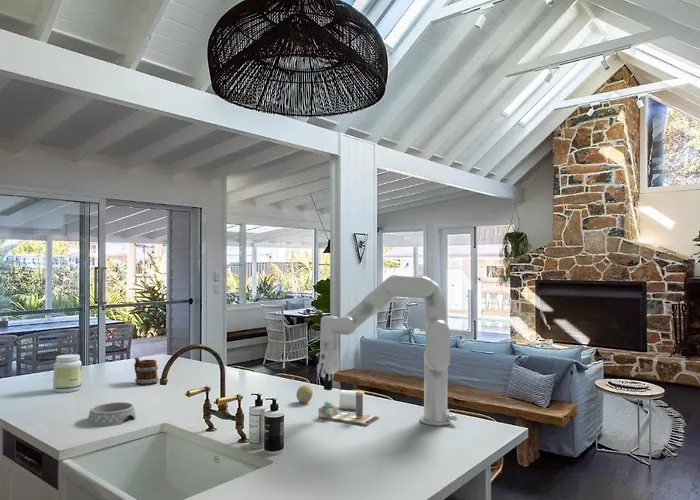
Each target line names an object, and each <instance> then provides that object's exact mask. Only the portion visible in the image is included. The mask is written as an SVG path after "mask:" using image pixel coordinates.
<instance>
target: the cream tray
mask: <svg viewBox="0 0 700 500" xmlns="http://www.w3.org/2000/svg"><path fill="white" fill-rule="evenodd" d="M317 413H318V416H317V417H318V419H320V420H326V421H333V422H339V423H344V424H350V425H355V426H363V427H367V426H369V425H371V424H372V423H375V421H377V420H379V419H380V417H379V416H377V415H373V414H372V415H371V414H364V413H363V416H362V419H357V418H356V412H353V411H352V412H351V411H344V410H339V406H338V405H333V404H332V408H331V409H329V408H325V404H323V405H321V406H319V407H318V412H317Z"/></svg>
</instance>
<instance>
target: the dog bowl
mask: <svg viewBox="0 0 700 500" xmlns="http://www.w3.org/2000/svg"><path fill="white" fill-rule="evenodd" d="M134 406H135V405H134V404H133V403H131V402H127V401H126V402H125V401H121V402H119V401H117V402H108V403H101V404H98V405H95V406H93V407H91V408H90V410H89V414H88V417H87V421H86V423H87V424H88V425H89V426H93V427H113V426H120V425H121V426H122V424H123V422H124V421H127V420H128V419H129V418H130V416H132V417H133V419H134V420H136V418H137V415H136V411H135V407H134Z"/></svg>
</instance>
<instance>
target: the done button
mask: <svg viewBox="0 0 700 500" xmlns="http://www.w3.org/2000/svg"><path fill="white" fill-rule="evenodd" d="M324 405H325V408H329V409H331V408H332V405H333V401H329V400H328V401H327V400H326V401H324Z"/></svg>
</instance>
